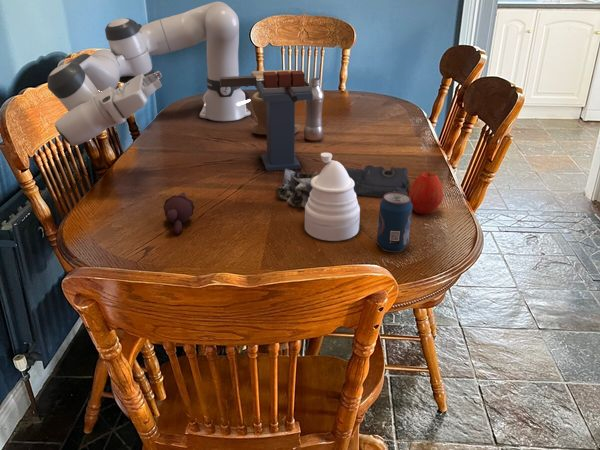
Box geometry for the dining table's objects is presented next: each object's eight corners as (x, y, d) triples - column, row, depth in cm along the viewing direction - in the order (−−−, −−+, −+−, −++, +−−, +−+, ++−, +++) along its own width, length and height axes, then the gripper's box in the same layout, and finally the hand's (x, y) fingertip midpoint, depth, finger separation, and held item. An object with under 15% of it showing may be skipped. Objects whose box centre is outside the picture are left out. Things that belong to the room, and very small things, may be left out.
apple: (446, 216, 140) (452, 176, 135) (416, 220, 138) (421, 179, 133) (430, 202, 147) (436, 163, 142) (401, 206, 145) (406, 166, 140)
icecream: (164, 184, 140) (151, 216, 127) (193, 177, 139) (183, 209, 126) (174, 207, 144) (163, 241, 131) (202, 201, 143) (193, 235, 130)
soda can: (376, 237, 131) (380, 189, 125) (406, 239, 130) (412, 191, 124) (376, 252, 124) (381, 203, 119) (408, 254, 124) (414, 205, 118)
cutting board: (251, 74, 167) (251, 71, 166) (295, 73, 169) (295, 69, 169) (256, 83, 158) (256, 79, 158) (302, 81, 161) (302, 77, 160)
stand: (253, 150, 179) (251, 73, 168) (293, 148, 182) (294, 72, 170) (265, 181, 158) (263, 95, 147) (310, 177, 161) (312, 93, 150)
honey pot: (296, 234, 131) (297, 161, 123) (315, 211, 142) (316, 142, 133) (350, 245, 127) (354, 170, 119) (365, 220, 138) (370, 150, 129)
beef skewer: (219, 87, 152) (219, 73, 150) (304, 83, 156) (304, 70, 155) (221, 90, 149) (220, 76, 147) (307, 86, 153) (307, 73, 152)
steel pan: (257, 84, 157) (256, 77, 157) (302, 82, 160) (303, 75, 159) (268, 104, 140) (268, 96, 139) (320, 101, 143) (320, 94, 142)
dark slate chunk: (329, 171, 165) (330, 156, 162) (406, 176, 162) (408, 161, 160) (324, 193, 151) (325, 177, 149) (408, 199, 149) (410, 182, 146)
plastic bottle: (323, 136, 192) (325, 76, 182) (322, 143, 186) (324, 81, 177) (304, 135, 192) (305, 76, 183) (302, 142, 186) (303, 81, 177)
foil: (329, 176, 153) (320, 165, 139) (321, 215, 153) (312, 208, 138) (287, 169, 156) (275, 157, 141) (279, 208, 155) (266, 200, 140)
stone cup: (246, 138, 190) (244, 93, 183) (258, 127, 200) (257, 84, 193) (289, 142, 186) (290, 97, 179) (300, 131, 196) (300, 88, 189)
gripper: (124, 104, 158) (167, 79, 157) (119, 127, 140) (167, 98, 139) (110, 84, 155) (154, 58, 154) (103, 105, 137) (152, 76, 136)
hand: (160, 78), depth 146 cm, fingers open, 8 cm apart
